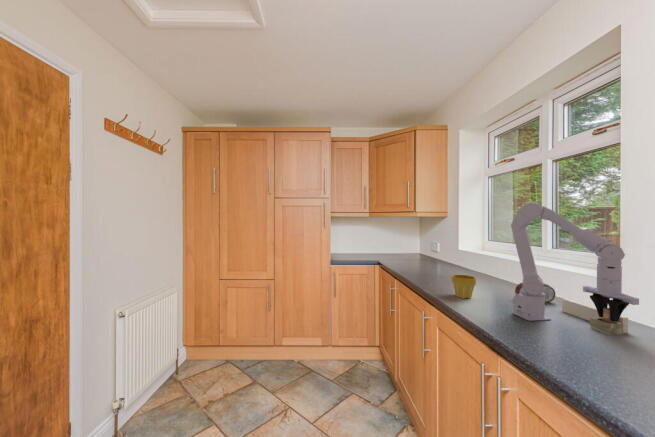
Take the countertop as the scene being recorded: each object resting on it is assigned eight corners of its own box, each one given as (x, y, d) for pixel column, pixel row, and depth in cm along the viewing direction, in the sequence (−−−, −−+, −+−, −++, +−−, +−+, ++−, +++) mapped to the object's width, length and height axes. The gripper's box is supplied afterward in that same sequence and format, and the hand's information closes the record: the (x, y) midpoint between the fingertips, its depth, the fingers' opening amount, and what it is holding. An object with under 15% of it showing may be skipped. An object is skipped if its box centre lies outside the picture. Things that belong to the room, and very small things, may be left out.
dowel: (609, 328, 86) (609, 310, 86) (600, 325, 89) (600, 307, 89) (616, 328, 86) (616, 310, 86) (607, 324, 89) (607, 307, 89)
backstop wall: (622, 333, 86) (622, 318, 86) (562, 311, 106) (562, 298, 106) (627, 332, 86) (628, 317, 86) (566, 310, 106) (566, 298, 106)
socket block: (608, 335, 85) (608, 324, 85) (590, 328, 90) (590, 317, 90) (623, 334, 85) (623, 323, 85) (603, 327, 91) (604, 317, 91)
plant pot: (474, 295, 127) (474, 275, 127) (477, 301, 118) (477, 279, 118) (451, 292, 132) (451, 273, 131) (452, 298, 122) (452, 277, 122)
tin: (552, 301, 118) (552, 283, 117) (556, 304, 114) (556, 285, 114) (514, 299, 121) (514, 281, 121) (517, 301, 118) (518, 283, 118)
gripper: (647, 284, 81) (647, 327, 81) (595, 273, 95) (594, 310, 95) (628, 284, 80) (627, 328, 80) (577, 274, 94) (577, 311, 94)
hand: (608, 319), depth 88 cm, fingers open, 3 cm apart
